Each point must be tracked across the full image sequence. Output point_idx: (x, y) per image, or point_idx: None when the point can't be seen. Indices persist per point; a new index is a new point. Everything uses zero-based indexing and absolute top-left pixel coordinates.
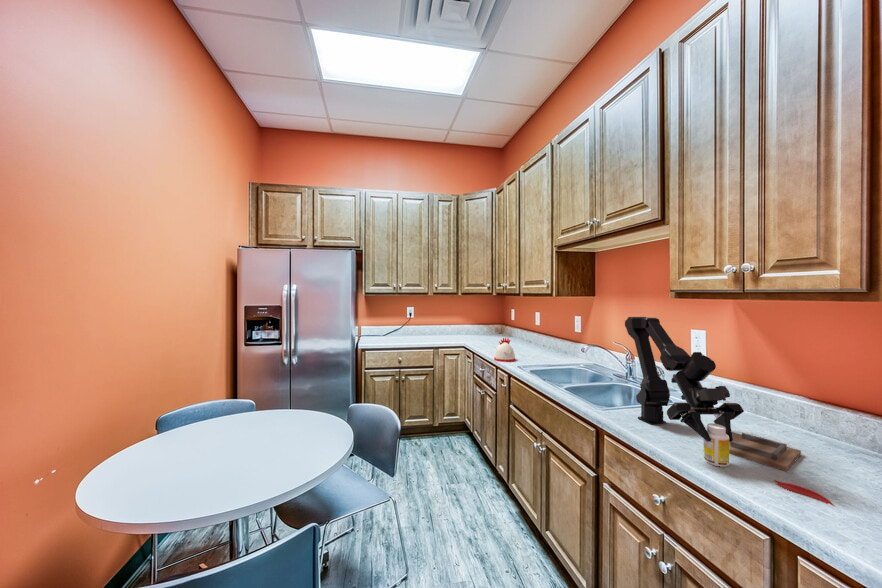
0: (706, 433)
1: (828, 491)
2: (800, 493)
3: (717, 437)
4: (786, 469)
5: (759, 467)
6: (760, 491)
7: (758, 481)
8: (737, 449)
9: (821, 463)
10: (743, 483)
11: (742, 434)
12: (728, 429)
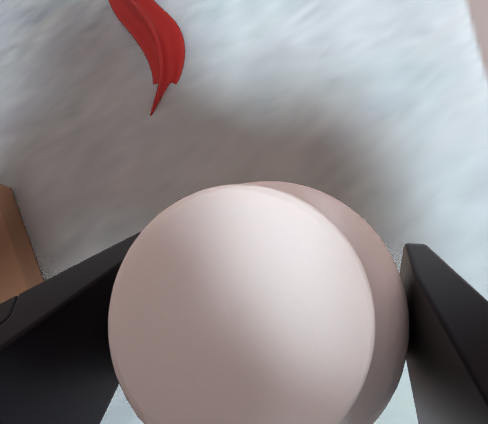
0: (448, 289)
1: (32, 37)
2: (158, 6)
3: (340, 205)
4: (3, 185)
5: (93, 234)
6: (320, 13)
7: (240, 98)
8: None
9: None
10: (341, 77)
11: None
12: (77, 285)
